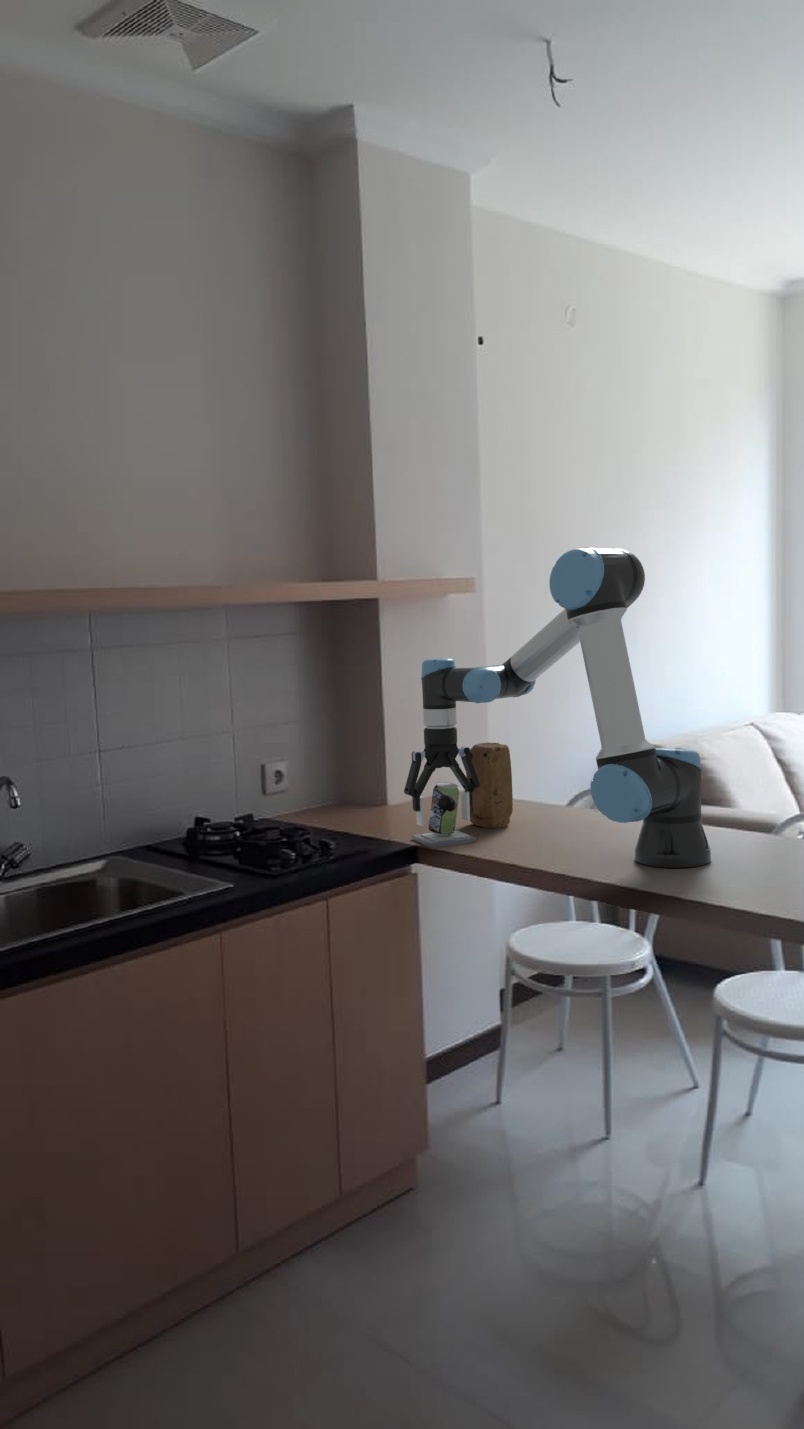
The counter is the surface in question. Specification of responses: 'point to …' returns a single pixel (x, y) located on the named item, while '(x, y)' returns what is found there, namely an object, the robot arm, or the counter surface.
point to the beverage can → (444, 809)
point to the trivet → (444, 839)
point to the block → (491, 785)
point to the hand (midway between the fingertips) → (443, 822)
